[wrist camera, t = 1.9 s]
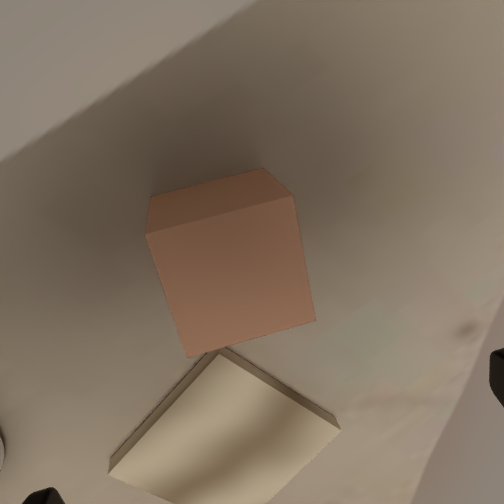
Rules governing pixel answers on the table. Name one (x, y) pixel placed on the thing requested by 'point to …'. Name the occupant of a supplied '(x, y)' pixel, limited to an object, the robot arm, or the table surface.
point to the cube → (230, 260)
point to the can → (1, 453)
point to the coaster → (224, 437)
